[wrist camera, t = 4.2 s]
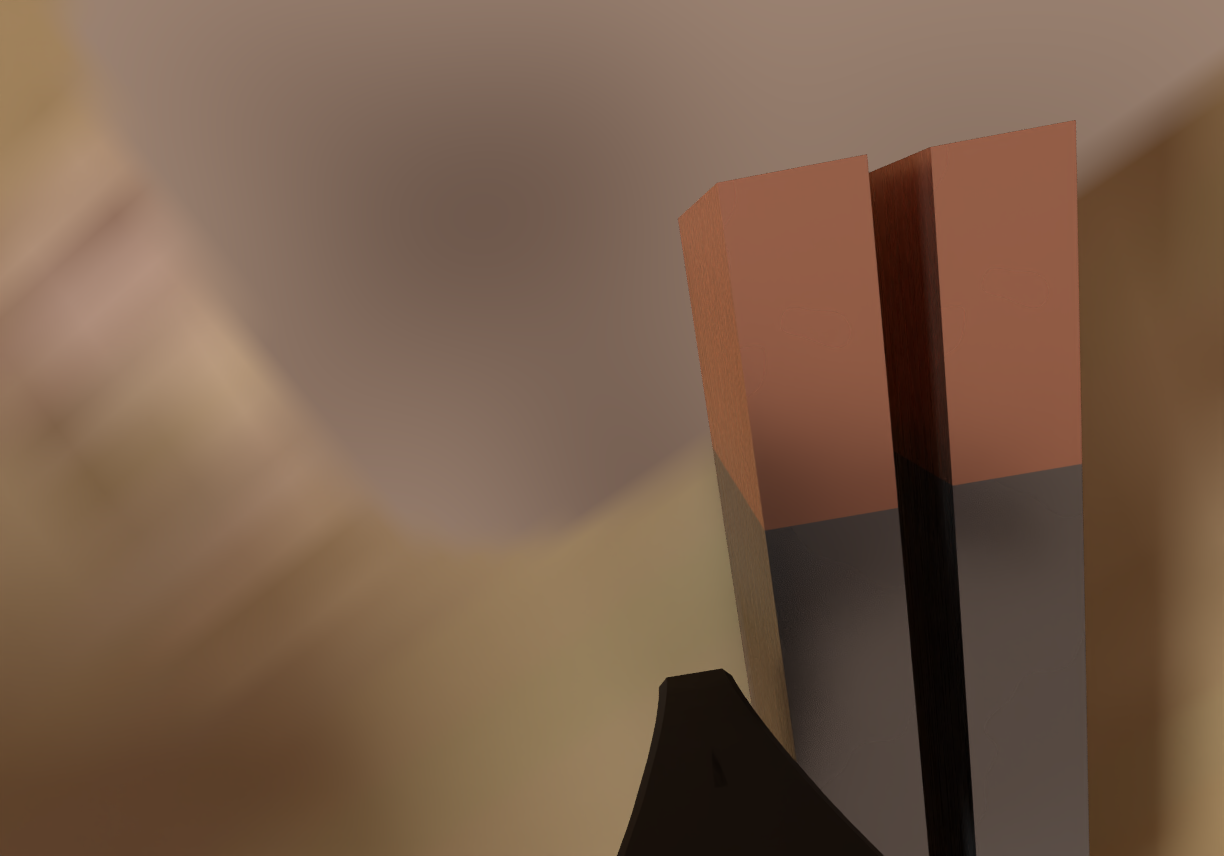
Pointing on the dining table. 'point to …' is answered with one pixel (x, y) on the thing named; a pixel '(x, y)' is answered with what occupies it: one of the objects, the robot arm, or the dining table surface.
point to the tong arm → (811, 480)
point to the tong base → (990, 482)
